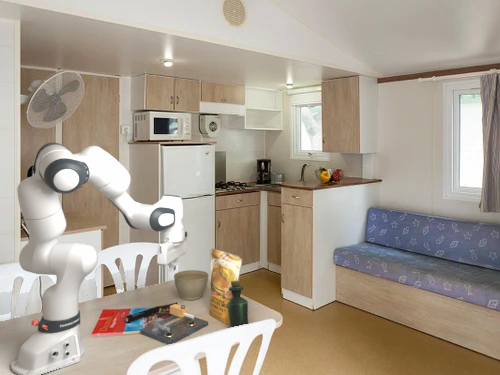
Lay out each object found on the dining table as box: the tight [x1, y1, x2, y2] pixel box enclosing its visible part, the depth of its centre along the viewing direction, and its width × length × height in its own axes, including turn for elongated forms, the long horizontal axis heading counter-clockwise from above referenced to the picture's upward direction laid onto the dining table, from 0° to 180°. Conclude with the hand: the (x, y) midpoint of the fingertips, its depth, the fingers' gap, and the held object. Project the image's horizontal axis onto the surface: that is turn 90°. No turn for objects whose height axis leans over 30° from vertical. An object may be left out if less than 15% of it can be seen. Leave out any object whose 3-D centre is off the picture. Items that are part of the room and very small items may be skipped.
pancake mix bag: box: [209, 248, 243, 325], centre depth 171 cm, size 7×19×28 cm, turn 39°
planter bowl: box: [173, 269, 209, 301], centre depth 195 cm, size 16×16×11 cm
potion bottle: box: [227, 279, 249, 328], centre depth 161 cm, size 8×8×18 cm
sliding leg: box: [169, 303, 195, 322], centre depth 166 cm, size 3×12×5 cm, turn 55°
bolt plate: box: [139, 312, 209, 346], centre depth 161 cm, size 21×16×6 cm
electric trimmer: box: [123, 306, 160, 325], centre depth 172 cm, size 4×16×3 cm, turn 136°
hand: (172, 270), depth 162 cm, fingers closed
